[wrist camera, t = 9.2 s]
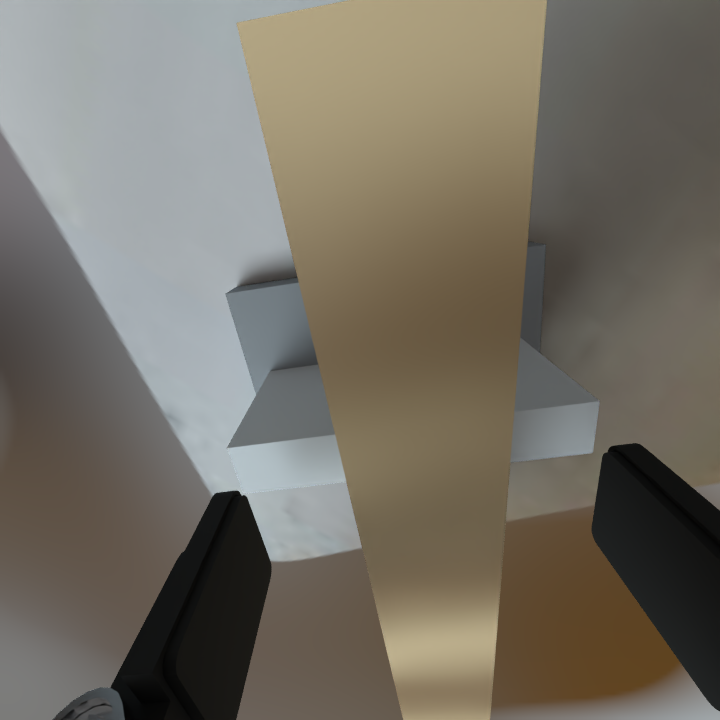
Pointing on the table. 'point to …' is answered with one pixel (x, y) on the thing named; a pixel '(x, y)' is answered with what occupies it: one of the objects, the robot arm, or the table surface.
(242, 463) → the fulcrum
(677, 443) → the table surface
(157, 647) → the robot arm
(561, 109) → the table surface
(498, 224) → the rod
